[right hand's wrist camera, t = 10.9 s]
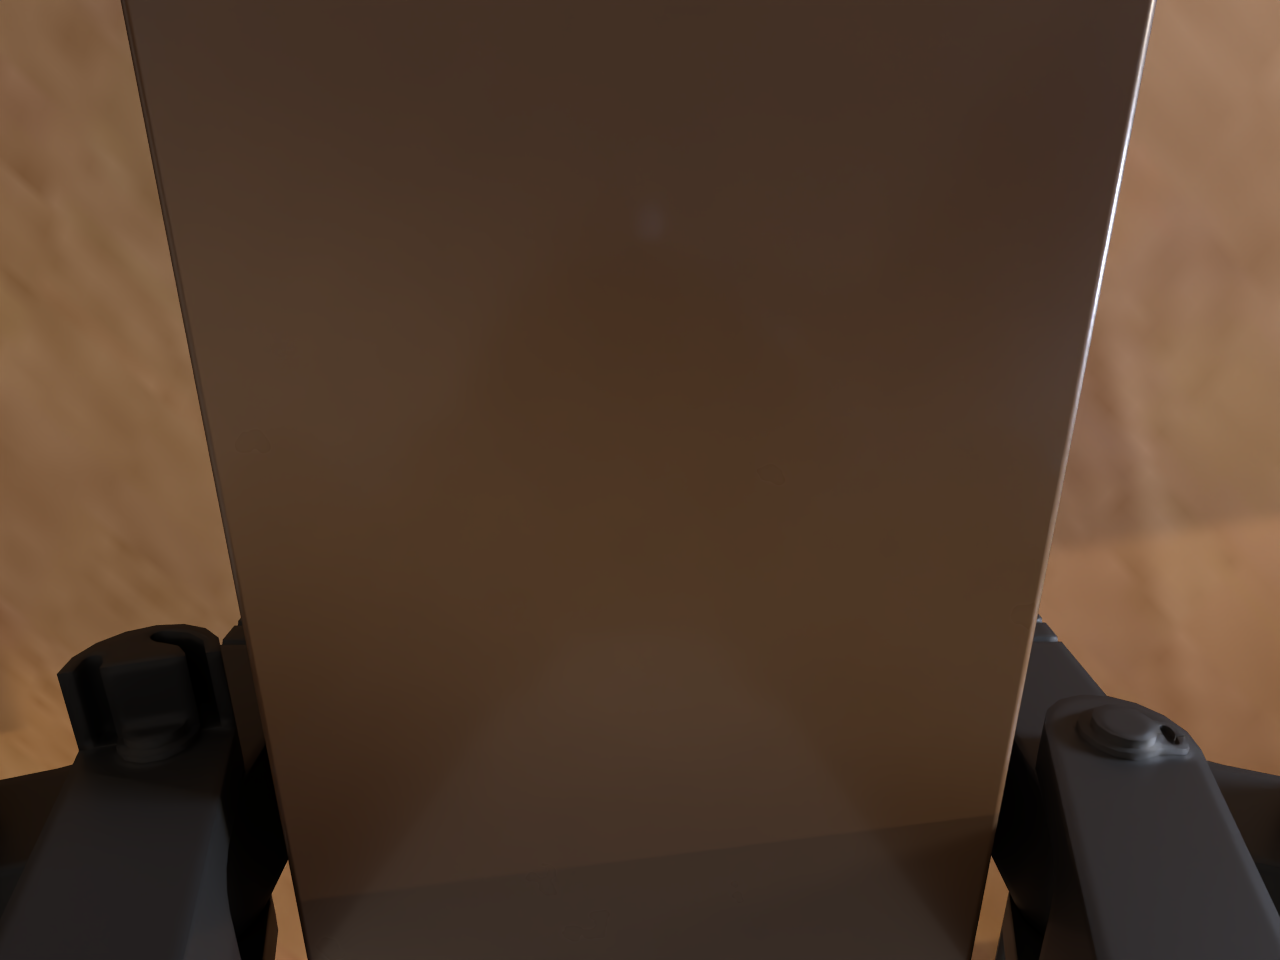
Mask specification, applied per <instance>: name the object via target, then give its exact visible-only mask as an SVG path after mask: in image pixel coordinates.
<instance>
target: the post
mask: <svg viewBox="0 0 1280 960" xmlns="http://www.w3.org/2000/svg"><path fill="white" fill-rule="evenodd" d="M1156 2H1157V0H121V4H122V9H123V15H124V20H125V25H126V30H127V35H128V40H129V45H130V50H131V56H132V61H133V66H134V71H135V76H136V81H137V86H138V91H139V97H140V102H141V107H142V112H143V117H144V122H145V127H146V132H147V138H148V143H149V148H150V153H151V158H152V163H153V168H154V174H155V179H156V184H157V189H158V194H159V199H160V204H161V209H162V215H163V220H164V225H165V230H166V235H167V240H168V245H169V250H170V256H171V261H172V266H173V271H174V276H175V281H176V286H177V291H178V297H179V302H180V307H181V312H182V317H183V322H184V327H185V333H186V338H187V343H188V348H189V353H190V358H191V363H192V368H193V374H194V379H195V384H196V389H197V394H198V399H199V404H200V409H201V415H202V420H203V425H204V430H205V435H206V440H207V445H208V450H209V456H210V461H211V466H212V471H213V476H214V481H215V486H216V492H217V497H218V502H219V507H220V512H221V517H222V522H223V527H224V533H225V538H226V543H227V548H228V553H229V558H230V563H231V568H232V574H233V579H234V584H235V589H236V594H237V599H238V604H239V609H240V615H241V620H242V625H243V630H244V635H245V640H246V645H247V651H248V656H249V661H250V666H251V671H252V676H253V681H254V686H255V692H256V697H257V702H258V707H259V712H260V717H261V722H262V727H263V733H264V738H265V743H266V748H267V753H268V758H269V763H270V768H271V774H272V779H273V784H274V789H275V794H276V799H277V804H278V810H279V815H280V820H281V825H282V830H283V835H284V840H285V845H286V851H287V856H288V861H289V866H290V871H291V876H292V881H293V886H294V892H295V897H296V902H297V907H298V912H299V917H300V922H301V927H302V933H303V938H304V943H305V948H306V953H307V958H308V960H971V957H972V952H973V946H974V941H975V936H976V931H977V926H978V921H979V915H980V910H981V905H982V900H983V895H984V890H985V884H986V879H987V874H988V869H989V864H990V859H991V853H992V848H993V843H994V838H995V833H996V828H997V822H998V817H999V812H1000V807H1001V802H1002V797H1003V792H1004V786H1005V781H1006V776H1007V771H1008V766H1009V761H1010V755H1011V750H1012V745H1013V740H1014V735H1015V730H1016V724H1017V719H1018V714H1019V709H1020V704H1021V699H1022V693H1023V688H1024V683H1025V678H1026V673H1027V668H1028V662H1029V657H1030V652H1031V647H1032V642H1033V637H1034V632H1035V626H1036V621H1037V616H1038V611H1039V606H1040V601H1041V595H1042V590H1043V585H1044V580H1045V575H1046V570H1047V564H1048V559H1049V554H1050V549H1051V544H1052V539H1053V533H1054V528H1055V523H1056V518H1057V513H1058V508H1059V502H1060V497H1061V492H1062V487H1063V482H1064V477H1065V472H1066V466H1067V461H1068V456H1069V451H1070V446H1071V441H1072V435H1073V430H1074V425H1075V420H1076V415H1077V410H1078V404H1079V399H1080V394H1081V389H1082V384H1083V379H1084V373H1085V368H1086V363H1087V358H1088V353H1089V348H1090V342H1091V337H1092V332H1093V327H1094V322H1095V317H1096V312H1097V306H1098V301H1099V296H1100V291H1101V286H1102V281H1103V275H1104V270H1105V265H1106V260H1107V255H1108V250H1109V244H1110V239H1111V234H1112V229H1113V224H1114V219H1115V213H1116V208H1117V203H1118V198H1119V193H1120V188H1121V182H1122V177H1123V172H1124V167H1125V162H1126V157H1127V152H1128V146H1129V141H1130V136H1131V131H1132V126H1133V121H1134V115H1135V110H1136V105H1137V100H1138V95H1139V90H1140V84H1141V79H1142V74H1143V69H1144V64H1145V59H1146V53H1147V48H1148V43H1149V38H1150V33H1151V28H1152V22H1153V17H1154V12H1155V7H1156Z"/></svg>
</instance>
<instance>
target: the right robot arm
mask: <svg viewBox="0 0 1280 960" xmlns="http://www.w3.org/2000/svg"><path fill="white" fill-rule="evenodd" d="M57 676H58V680H59V683H60V687H61V690H62V694H63V697H64V700H65V704H66V707H67V711H68V714H69V718H70V721H71V725H72V728H73V731H74V735H75V738H76V742H77V745H78V749H79V752H78V754H77V756H76V759H75V761H74V763H73V765H69V766H65V767H62V768H58V769H53V770H48V771H43V772H38V773H33V774H28V775H23V776H18V777H13V778H8V779H3V780H0V960H275V953H276V944H277V935H278V927H277V920H276V914H275V909H274V904H273V899H272V892H273V890H274V887H275V885H276V883H277V881H278V879H279V877H280V875H281V873H282V871H283V869H284V867H285V865H286V863H287V861H288V856H287V851H286V845H285V840H284V835H283V830H282V825H281V820H280V815H279V810H278V804H277V799H276V794H275V789H274V784H273V779H272V774H271V768H270V763H269V758H268V753H267V748H266V743H265V738H264V733H263V727H262V722H261V717H260V712H259V707H258V702H257V697H256V692H255V686H254V681H253V676H252V671H251V666H250V661H249V656H248V651H247V645H246V640H245V635H244V630H243V625H242V620H241V618H240V620H239V621H238V626H234V627H233V628H232V629H231V631H230V632H229V633H228V634H227V635H226V637H225V638H224V639H223V644H222V645H220V643H219V638H218V637H217V636H216V635H214V634H213V633H211V632H210V631H209V630H207V629H206V628H201V627H196V626H191V625H186V624H175V625H155V626H151V627H146V628H142V629H137V630H132V631H128V632H124V633H122V634H119V635H116V636H114V637H111V638H108V639H106V640H103V641H101V642H98V643H96V644H94V645H92V646H91V647H89V648H87V649H86V650H84V651H83V652H81V653H79V654H78V655H76V656H74V657H73V658H71V659H70V661H69V662H68V663H67V664H66V665H65V666H64V667H63V668H62V669H61V670H60V671H59V672H58V673H57ZM991 856H992V858H993V860H994V862H995V864H996V866H997V868H998V870H999V872H1000V874H1001V876H1002V878H1003V880H1004V882H1005V884H1006V886H1007V888H1008V890H1009V894H1008V899H1007V904H1006V909H1005V914H1004V918H1003V923H1002V928H1001V933H1000V938H999V943H998V947H997V952H996V957H995V960H1280V776H1276V775H1271V774H1266V773H1261V772H1256V771H1251V770H1246V769H1241V768H1236V767H1231V766H1226V765H1222V764H1218V763H1214V762H1210V761H1206V759H1205V757H1204V755H1203V753H1202V751H1201V749H1200V748H1199V746H1198V745H1197V744H1196V743H1195V741H1194V740H1193V739H1192V737H1191V736H1190V735H1189V734H1188V732H1187V731H1185V730H1184V729H1182V728H1181V727H1180V726H1178V725H1177V724H1175V723H1174V722H1172V721H1171V720H1170V719H1168V718H1167V717H1165V716H1164V715H1162V714H1159V713H1157V712H1155V711H1153V710H1150V709H1148V708H1146V707H1144V706H1141V705H1139V704H1137V703H1133V702H1129V701H1125V700H1121V699H1117V698H1113V697H1109V696H1106V695H1105V693H1104V692H1103V691H1102V690H1101V689H1100V687H1099V686H1098V685H1097V684H1096V683H1095V681H1094V680H1093V679H1092V678H1091V677H1090V675H1089V674H1088V673H1087V672H1086V671H1085V669H1084V668H1083V667H1082V666H1081V665H1080V663H1079V662H1078V661H1077V660H1076V659H1075V657H1074V656H1073V655H1072V654H1071V653H1070V651H1069V650H1068V649H1067V648H1066V647H1065V645H1064V644H1063V643H1062V642H1058V640H1057V636H1056V635H1055V633H1054V632H1053V631H1052V630H1051V629H1050V627H1049V626H1048V625H1047V624H1046V623H1042V618H1041V617H1040V615H1039V614H1038V616H1037V621H1036V626H1035V632H1034V637H1033V642H1032V647H1031V652H1030V657H1029V662H1028V668H1027V673H1026V678H1025V683H1024V688H1023V693H1022V699H1021V704H1020V709H1019V714H1018V719H1017V724H1016V730H1015V735H1014V740H1013V745H1012V750H1011V755H1010V761H1009V766H1008V771H1007V776H1006V781H1005V786H1004V792H1003V797H1002V802H1001V807H1000V812H999V817H998V822H997V828H996V833H995V838H994V843H993V848H992V853H991Z"/></svg>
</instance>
